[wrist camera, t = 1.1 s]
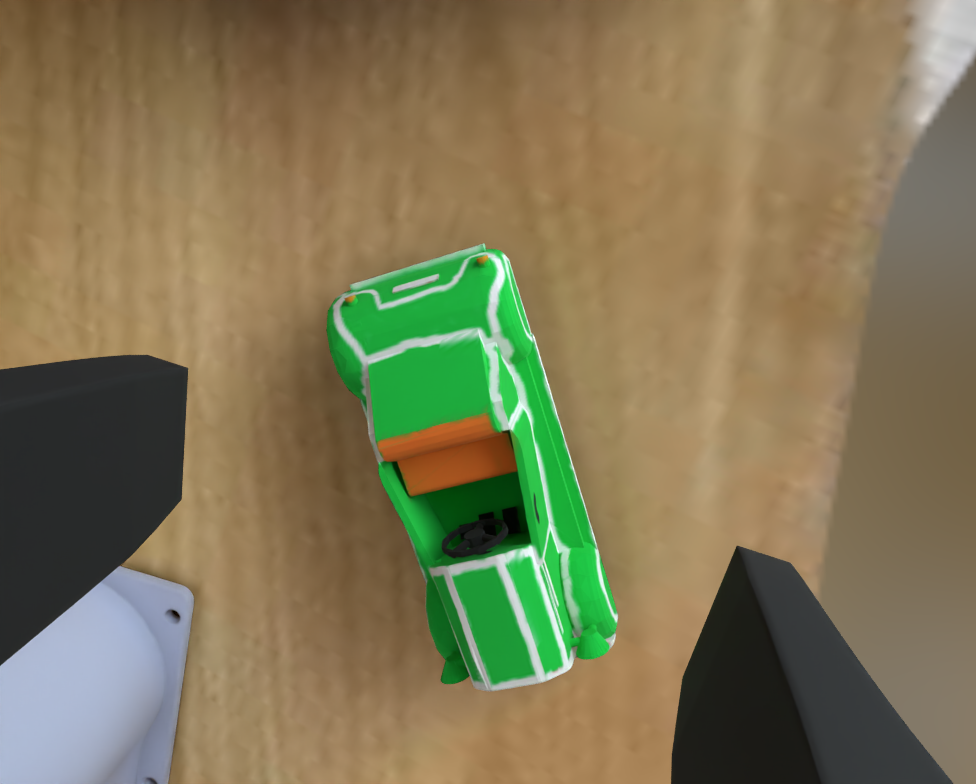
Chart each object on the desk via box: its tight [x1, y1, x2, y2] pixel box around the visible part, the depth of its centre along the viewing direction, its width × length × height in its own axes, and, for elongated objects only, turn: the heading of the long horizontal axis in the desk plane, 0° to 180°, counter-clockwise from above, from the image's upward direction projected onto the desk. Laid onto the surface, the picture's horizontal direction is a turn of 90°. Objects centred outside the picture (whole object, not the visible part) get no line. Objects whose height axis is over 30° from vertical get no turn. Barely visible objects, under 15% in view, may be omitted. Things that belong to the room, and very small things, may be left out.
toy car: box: [326, 243, 618, 691], centre depth 21 cm, size 12×5×4 cm, turn 18°
